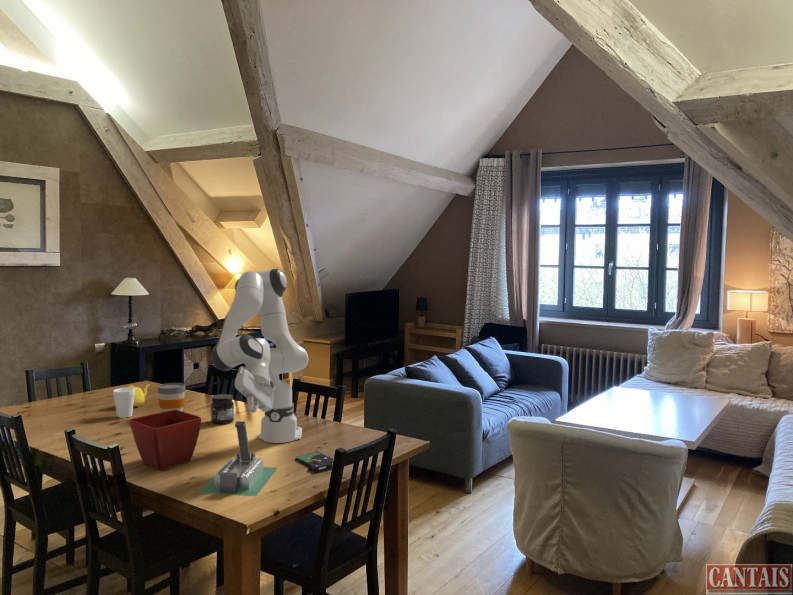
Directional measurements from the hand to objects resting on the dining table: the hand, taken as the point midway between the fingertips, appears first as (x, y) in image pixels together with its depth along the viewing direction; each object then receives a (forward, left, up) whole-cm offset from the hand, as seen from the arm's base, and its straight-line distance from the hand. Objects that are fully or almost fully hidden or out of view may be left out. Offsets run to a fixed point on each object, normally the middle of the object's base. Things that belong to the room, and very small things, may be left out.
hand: (252, 410), depth 217 cm
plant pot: (-8, -36, -23) cm, 43 cm away
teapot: (-85, -90, -23) cm, 125 cm away
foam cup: (-66, -84, -23) cm, 109 cm away
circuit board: (+9, -2, -23) cm, 25 cm away
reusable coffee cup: (-69, -62, -23) cm, 95 cm away
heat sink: (+11, -2, -22) cm, 24 cm away
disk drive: (-11, +21, -23) cm, 33 cm away
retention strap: (+7, -2, -10) cm, 12 cm away
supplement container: (-63, -35, -23) cm, 75 cm away
